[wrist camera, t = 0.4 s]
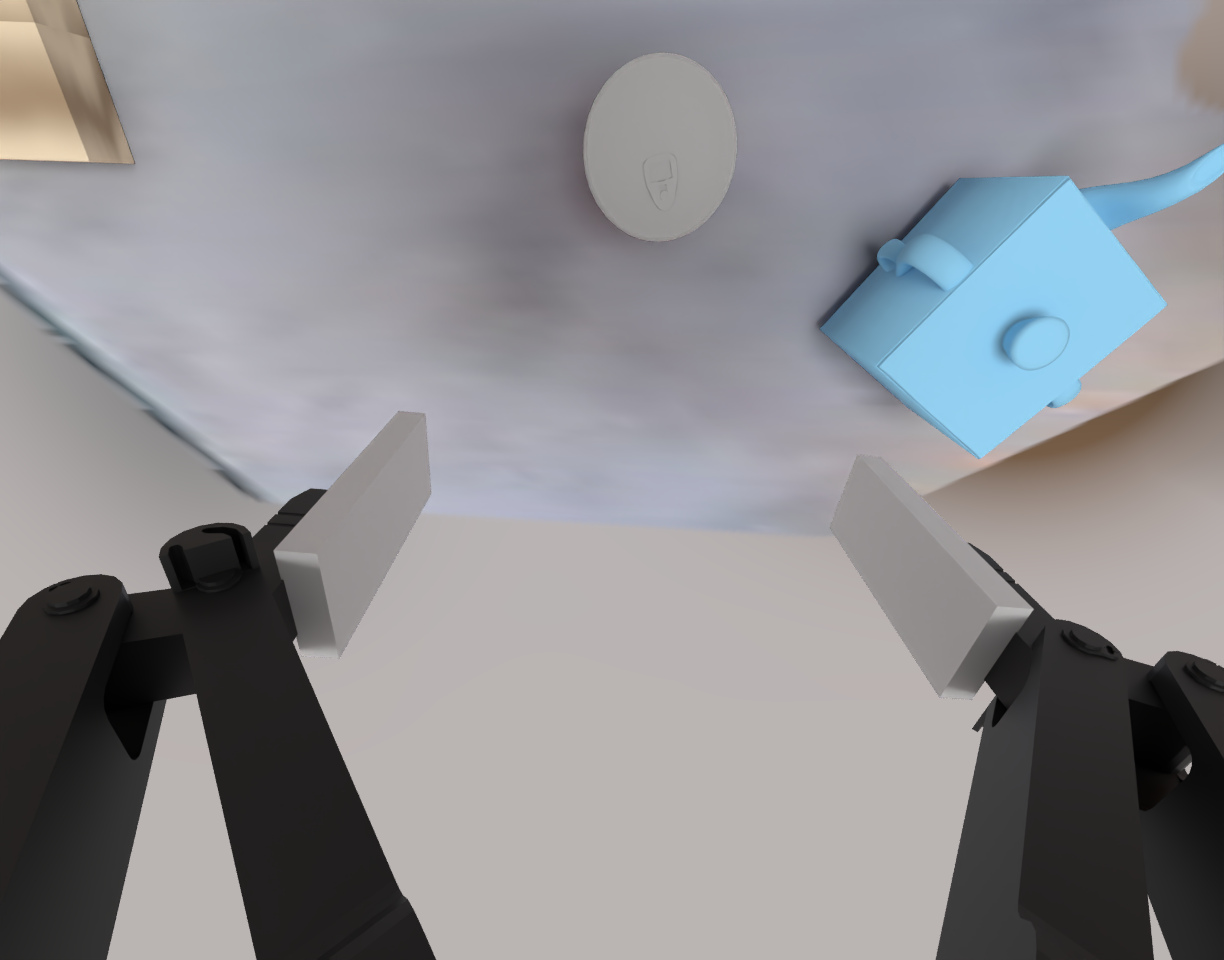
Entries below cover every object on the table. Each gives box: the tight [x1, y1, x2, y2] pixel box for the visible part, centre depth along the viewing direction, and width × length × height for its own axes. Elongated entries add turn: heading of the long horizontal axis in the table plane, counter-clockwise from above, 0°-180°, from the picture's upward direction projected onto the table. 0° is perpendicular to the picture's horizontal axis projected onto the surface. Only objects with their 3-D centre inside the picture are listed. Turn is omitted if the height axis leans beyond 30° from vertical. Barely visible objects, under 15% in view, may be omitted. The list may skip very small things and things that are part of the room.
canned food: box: [583, 52, 737, 242], centre depth 30 cm, size 8×8×11 cm
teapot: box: [820, 144, 1224, 459], centre depth 33 cm, size 18×16×13 cm
